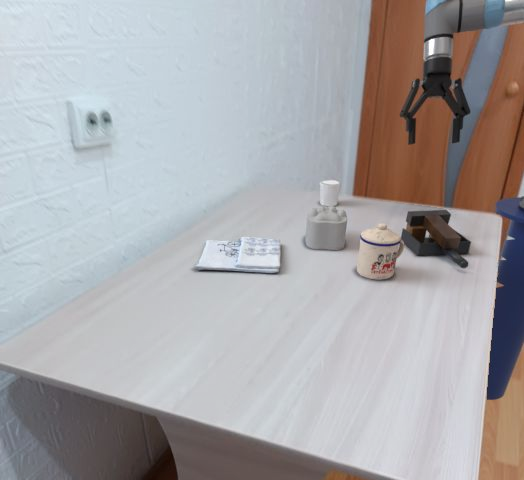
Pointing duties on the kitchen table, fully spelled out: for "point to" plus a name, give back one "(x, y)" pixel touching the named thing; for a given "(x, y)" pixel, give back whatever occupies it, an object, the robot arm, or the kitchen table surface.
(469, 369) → the kitchen table surface
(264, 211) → the kitchen table surface
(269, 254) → the folded kitchen towel
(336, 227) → the grey rounded block
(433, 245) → the dustpan
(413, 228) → the brown cube
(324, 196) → the white cup
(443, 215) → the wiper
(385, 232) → the teacup with lid
